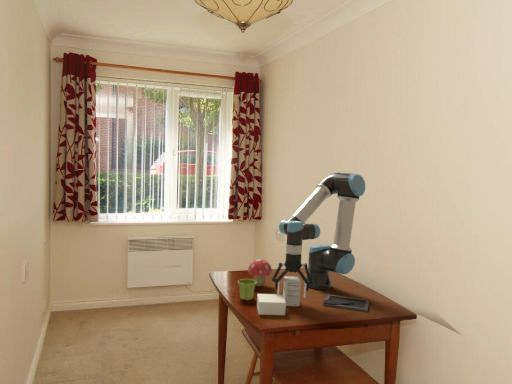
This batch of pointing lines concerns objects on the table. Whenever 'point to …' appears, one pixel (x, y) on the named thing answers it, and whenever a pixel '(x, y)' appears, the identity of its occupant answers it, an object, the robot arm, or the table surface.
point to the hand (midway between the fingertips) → (291, 296)
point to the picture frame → (346, 303)
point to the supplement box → (292, 290)
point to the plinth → (271, 304)
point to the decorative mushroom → (260, 271)
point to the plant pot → (246, 288)
